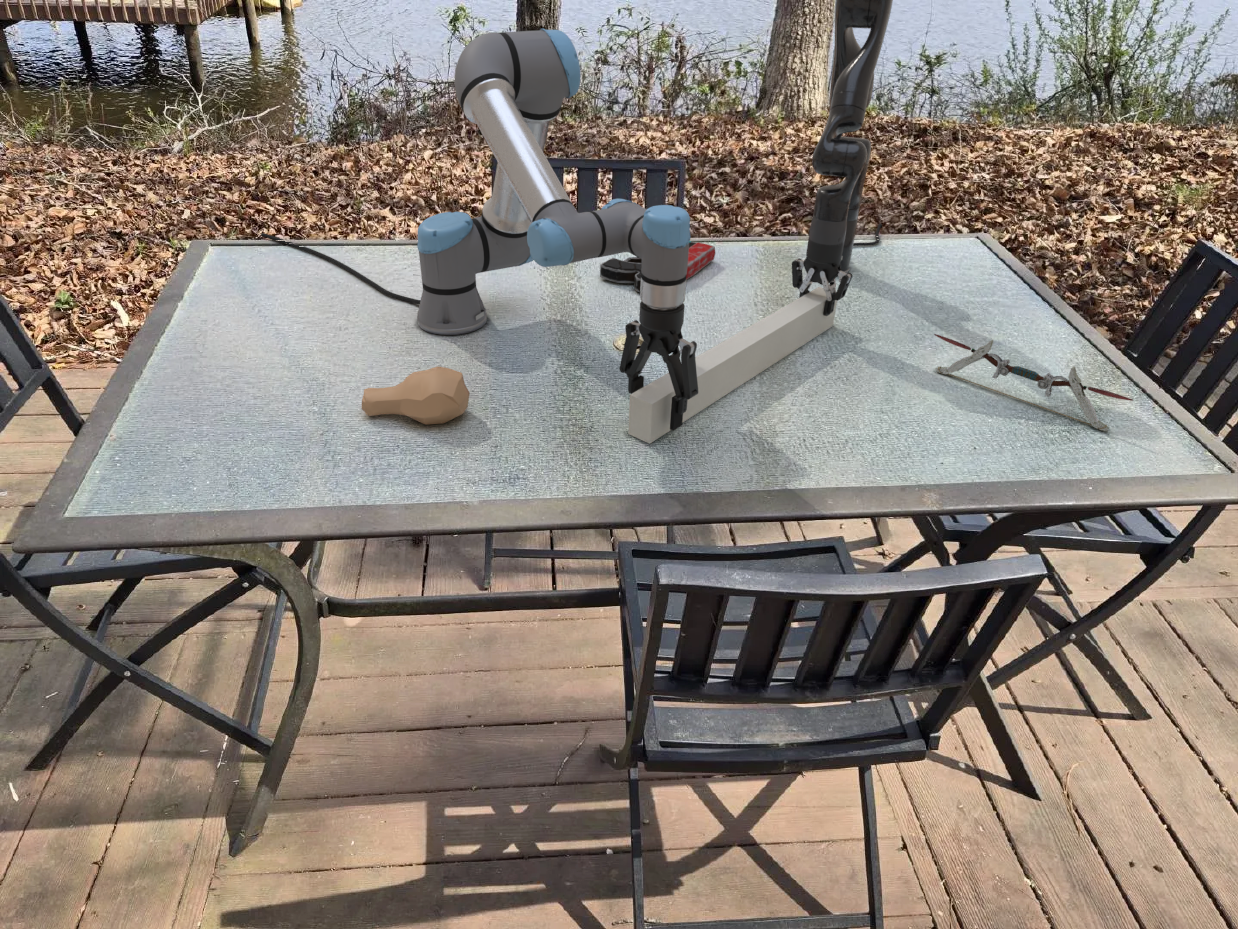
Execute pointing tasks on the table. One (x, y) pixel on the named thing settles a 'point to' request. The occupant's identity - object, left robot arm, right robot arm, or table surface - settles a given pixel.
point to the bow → (1043, 382)
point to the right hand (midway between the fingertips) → (815, 310)
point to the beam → (731, 363)
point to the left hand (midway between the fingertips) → (655, 418)
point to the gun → (632, 266)
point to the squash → (421, 397)
